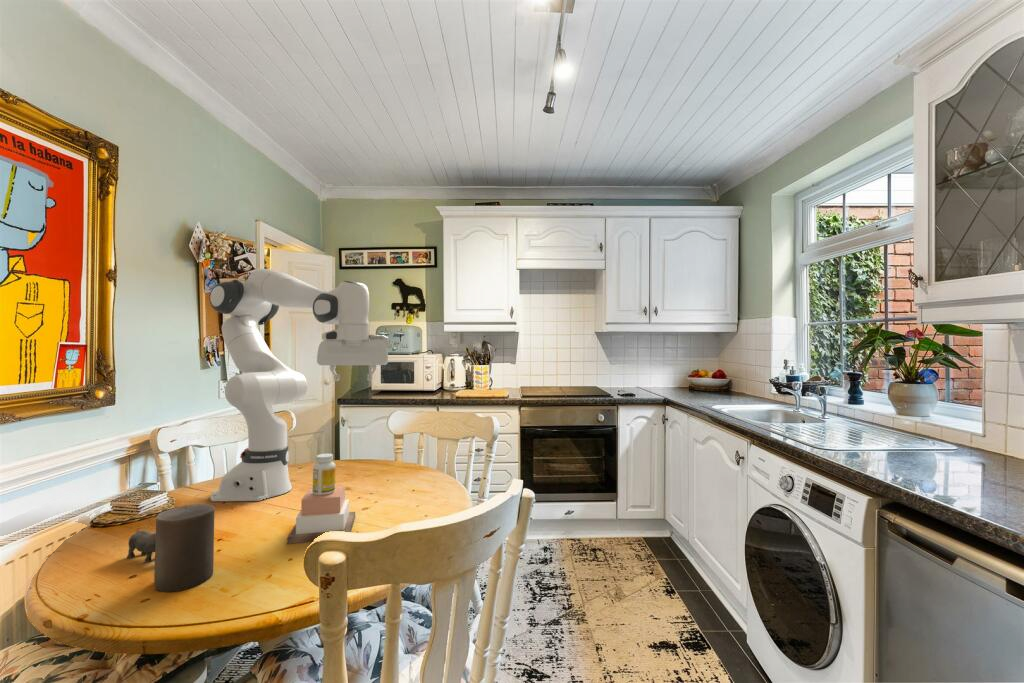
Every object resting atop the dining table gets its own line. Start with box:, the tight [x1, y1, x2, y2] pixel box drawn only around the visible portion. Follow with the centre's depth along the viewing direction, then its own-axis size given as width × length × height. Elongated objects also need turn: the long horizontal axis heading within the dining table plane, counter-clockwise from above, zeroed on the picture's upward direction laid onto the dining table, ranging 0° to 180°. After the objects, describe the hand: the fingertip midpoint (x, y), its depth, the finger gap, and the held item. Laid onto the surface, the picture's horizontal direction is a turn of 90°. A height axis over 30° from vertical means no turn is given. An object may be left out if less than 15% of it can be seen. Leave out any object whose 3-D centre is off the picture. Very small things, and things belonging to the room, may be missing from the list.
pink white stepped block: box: [295, 485, 350, 534], centre depth 115 cm, size 11×11×8 cm
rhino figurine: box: [126, 529, 156, 564], centre depth 98 cm, size 4×14×6 cm, turn 73°
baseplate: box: [286, 511, 356, 545], centre depth 115 cm, size 14×14×2 cm
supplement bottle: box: [312, 453, 336, 495], centre depth 115 cm, size 5×5×10 cm
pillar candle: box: [153, 503, 215, 593], centre depth 90 cm, size 10×10×15 cm
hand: (353, 380), depth 134 cm, fingers open, 8 cm apart
